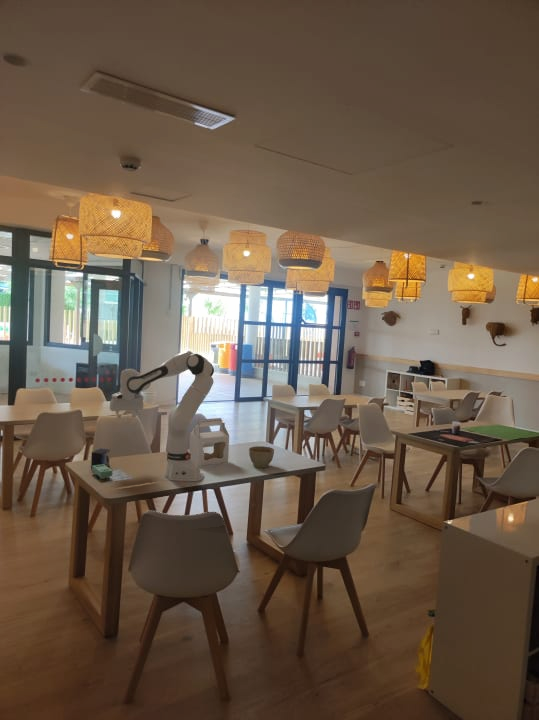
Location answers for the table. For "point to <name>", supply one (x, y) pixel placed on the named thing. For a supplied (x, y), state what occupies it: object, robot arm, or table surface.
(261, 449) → the planter bowl
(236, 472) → the table surface
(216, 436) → the gable box
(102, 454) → the small box
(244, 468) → the table surface
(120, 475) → the chassis
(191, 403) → the robot arm
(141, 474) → the table surface
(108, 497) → the table surface
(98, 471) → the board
